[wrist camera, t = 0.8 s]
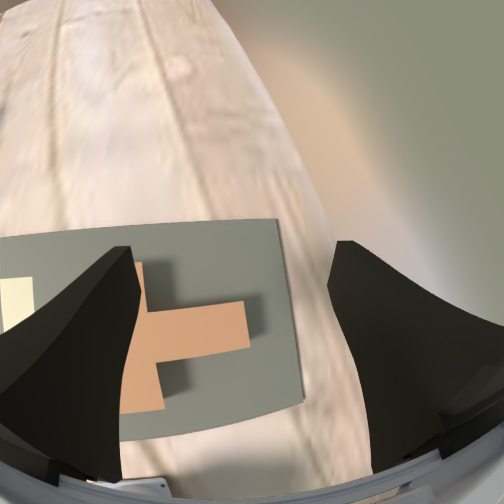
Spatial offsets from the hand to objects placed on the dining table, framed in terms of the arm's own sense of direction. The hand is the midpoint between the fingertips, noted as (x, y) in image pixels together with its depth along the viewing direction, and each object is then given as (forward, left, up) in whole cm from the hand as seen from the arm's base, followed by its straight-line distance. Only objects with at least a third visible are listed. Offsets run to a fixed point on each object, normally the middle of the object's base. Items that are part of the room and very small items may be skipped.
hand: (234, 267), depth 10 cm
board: (-3, +6, -17) cm, 18 cm away
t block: (-3, +1, -16) cm, 17 cm away
